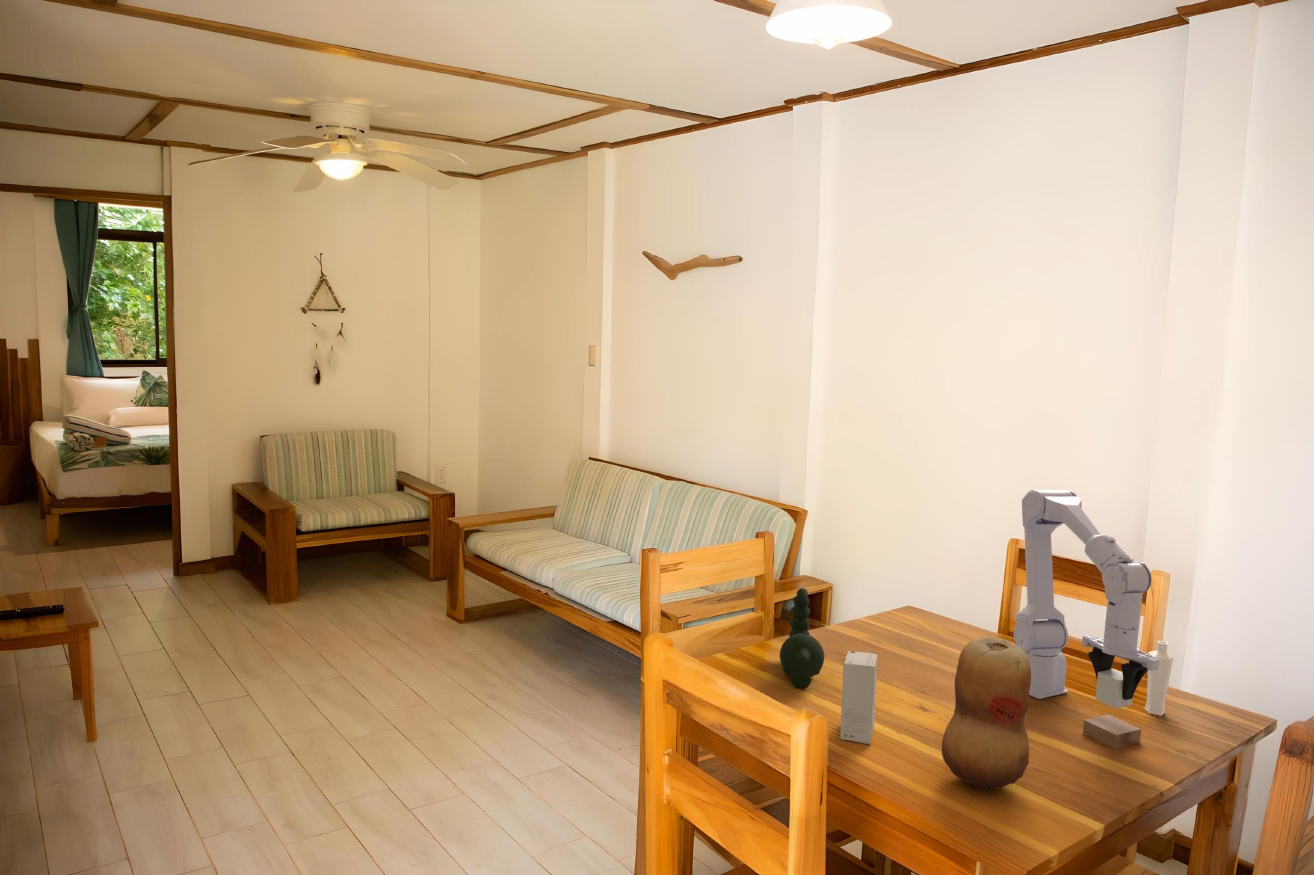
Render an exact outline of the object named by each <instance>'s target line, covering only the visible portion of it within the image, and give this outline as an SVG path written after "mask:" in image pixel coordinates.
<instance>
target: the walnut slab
mask: <svg viewBox="0 0 1314 875" xmlns="http://www.w3.org/2000/svg"><path fill="white" fill-rule="evenodd" d="M1082 727H1083V729H1082V734H1084V735H1086V734H1087V735H1086V736H1088V735H1089V736H1088V737H1090V736H1091V737H1090V738H1092V737H1093V738H1092V739H1094V738H1095V740H1096V739H1097V740H1096V741H1098V740H1100V741H1101V743H1102V744H1105V745H1107V744H1108V745H1107V746H1109V747H1111V746H1112V747H1111V748H1112V749H1119V748H1123V746H1124V747H1126V746H1127V745H1128V746H1132V745H1135V744H1134V743H1136V744H1138V742H1140V743H1141V735H1142V734H1141V733H1142V728H1139V727H1138V726H1135V725H1133V724H1130V723H1129V722H1126V721H1124V720H1122V719H1119V718H1117V717H1115V716H1113V715H1111V714H1105V715H1100V716H1097V717H1095V716H1094V717H1091V718H1086V719H1084V720H1083V726H1082ZM1100 741H1099V742H1100ZM1131 744H1132V745H1131Z"/></svg>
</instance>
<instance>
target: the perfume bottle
mask: <svg viewBox="0 0 1314 875" xmlns="http://www.w3.org/2000/svg"><path fill="white" fill-rule="evenodd" d="M1168 644H1169V642H1167V641H1163V640H1157V641H1156V647H1155V650H1151V651H1148V652H1147V654H1148V655H1150V656H1152V657H1154V658H1157V659H1159V669H1158V670H1153V671H1151V670H1148V671H1147V681H1146V682H1147V683H1146V684H1147V690H1146V693H1147V694H1146V704H1145V706H1144V709H1145V710H1146V711H1148V713H1152V714H1158V715H1163V714H1164V713H1165V714H1166V710H1165V704H1166V698H1167V693H1168V687H1169V682H1170V677H1171V672H1172V668H1173V667H1172V666H1173V663H1174V662H1173V661H1174V655H1172V654H1171V653H1169V652H1168ZM1145 710H1144V711H1145ZM1146 711H1145V712H1146ZM1148 713H1147V714H1148Z"/></svg>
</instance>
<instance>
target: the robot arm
mask: <svg viewBox="0 0 1314 875" xmlns="http://www.w3.org/2000/svg"><path fill="white" fill-rule="evenodd" d="M1082 506H1083V505H1082V499H1081V498H1080V497H1078V494H1076V492H1075V491H1073V490H1071V489H1065V490H1061V489H1056V490H1055V489H1052V490H1050V489H1047V490H1046V489H1045V490H1043V489H1041V490H1040V489H1039V490H1037V489H1031V490H1029V491H1027V493H1026V494H1025V495H1024V496H1023V498H1022V499H1021V512H1022V513H1021V516H1022V517H1021V518H1022V526H1023V527H1024V528H1023V530H1024V550H1025V551H1024V554H1025V555H1024V556H1025V578H1026V601H1027V603H1026V604H1027V605H1026V606H1025V607H1023V608H1022V609H1021V610H1019V611H1018V612H1017V613H1016V615H1015V626H1014V629H1013V639H1014V642H1015V644H1016V645H1017V646H1018V647H1020V648H1021V649H1022V650H1023V651H1024V652H1025V654H1026V655H1027V656H1028V658H1029V661H1030V668H1031V684H1030V691H1029V697H1030V696H1031V697H1033V698H1035V699H1038V700H1040V699H1041V700H1042V699H1046V698H1050V697H1053V696H1054V697H1055V696H1058V695H1063V694H1067V693H1069V692H1068V689H1066V688H1065V685H1066V684H1065V683H1066V674H1067V665H1068V664H1067V658H1066V656H1065V654H1064V653H1063V652H1062V649H1064V648H1065V647H1066V646H1067V644H1068V641H1069V632H1068V631H1069V630H1068V629H1067V625H1066V621H1065V615H1064V613H1062V612H1061V611H1060V610H1058V609H1057V608H1056V607H1055V599H1054V598H1055V597H1054V595H1055V594H1054V573H1053V572H1054V571H1053V570H1054V568H1053V553H1052V552H1053V551H1052V550H1053V549H1052V534H1053V533H1054V531H1055V530H1056V529H1057V528H1058V527H1060V526H1062V525H1065V526H1066V527H1067V528H1068V529H1069V530H1070V531H1071V532H1072V533H1073V534H1074V535H1075V536H1076V537H1077V538H1078V539H1079V540H1080V541H1081V542H1082V543H1083V544H1084V553H1085V555H1086V556H1087V558H1089V559H1090V561H1091V562H1092V563H1093V564H1094V566H1095V567H1096V568H1097V569H1098V570H1099V571H1100V573H1101V574H1102V575H1101V578H1102V583H1103V586H1104V589H1105V594H1104V597H1105V599H1106V600H1107V603H1106V613H1105V620H1104V621H1105V622H1104V625H1105V626H1104V633H1103V638H1102V637H1098V636H1094V635H1090V634H1087V635H1082V640H1081V646H1083V647H1087V648H1088V647H1089V648H1092V650H1091V651H1089V652H1088V653H1087V657H1088V659H1089V660H1090V662H1091V665H1092V667H1093V670H1094V673H1095V678H1096V680H1097V678H1098V672H1101V671H1106V670H1111V669H1112V666H1113V664H1114V660H1115V657H1116V658H1119V659H1121V660H1122V659H1123V660H1124V661H1128V662H1126V663H1121V664H1120V668H1121V672H1122V674H1123V690H1122V698H1123V699H1124V700H1129V699H1132V698H1134V695H1135V692H1136V690H1137V687H1138V686H1139V684H1140V682H1141V680H1142V679H1143V678H1144V676H1145V675H1146V674H1147V673H1148V670H1151V671H1153V670H1158V669H1159V659H1157V658H1154V657H1152V656H1150V655H1148V653H1146V652H1144V651H1142V650H1141V649H1139V648H1138V642H1139V641H1138V640H1139V634H1140V632H1139V631H1140V625H1141V624H1140V623H1141V616H1142V615H1141V613H1142V604H1143V594H1144V593H1146V592H1148V591H1149V590H1150V588H1151V586H1152V582H1153V578H1152V574H1151V571H1150V569H1149V567H1148V566H1147V565H1146V563H1144V562H1142V561H1136V560H1135V559H1134V558H1130V555H1128V554H1127V553H1126V551H1124V549H1122V547H1121V546H1120V545H1119V544H1118V543H1117V542H1116V539H1115V537H1114V536H1111V535H1109V534H1101V533H1100V531H1099V530H1098V529H1097V528H1096V526H1095V524H1094V523H1093V522H1092V520H1090V518H1089V517H1088V515H1087V514H1086V513H1085V511H1084V510H1083V509H1082Z"/></svg>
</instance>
